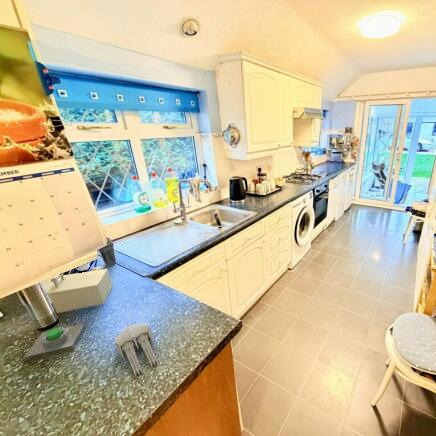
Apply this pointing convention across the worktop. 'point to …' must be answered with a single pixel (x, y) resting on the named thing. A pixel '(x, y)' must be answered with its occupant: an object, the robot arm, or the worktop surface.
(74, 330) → the block
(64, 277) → the chest lid
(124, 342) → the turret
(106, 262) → the beverage cup
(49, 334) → the button
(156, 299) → the worktop surface
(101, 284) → the chest
